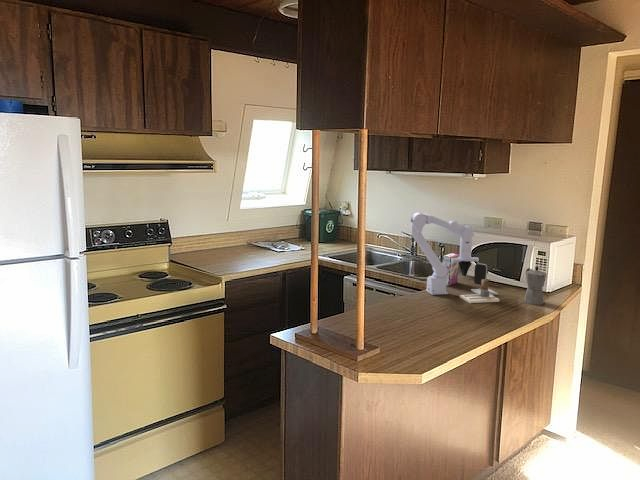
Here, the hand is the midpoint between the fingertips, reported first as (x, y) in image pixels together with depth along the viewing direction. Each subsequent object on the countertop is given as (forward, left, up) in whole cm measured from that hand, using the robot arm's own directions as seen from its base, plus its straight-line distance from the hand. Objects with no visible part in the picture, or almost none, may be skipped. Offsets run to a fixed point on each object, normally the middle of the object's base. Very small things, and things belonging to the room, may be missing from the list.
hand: (464, 275), depth 269 cm
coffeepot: (+27, -19, -10) cm, 35 cm away
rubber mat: (+12, -1, -9) cm, 15 cm away
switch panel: (+3, -12, -9) cm, 15 cm away
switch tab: (+5, -12, -8) cm, 15 cm away
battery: (+20, +17, -10) cm, 28 cm away
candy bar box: (+2, +19, -10) cm, 21 cm away
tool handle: (+12, -1, -9) cm, 14 cm away
